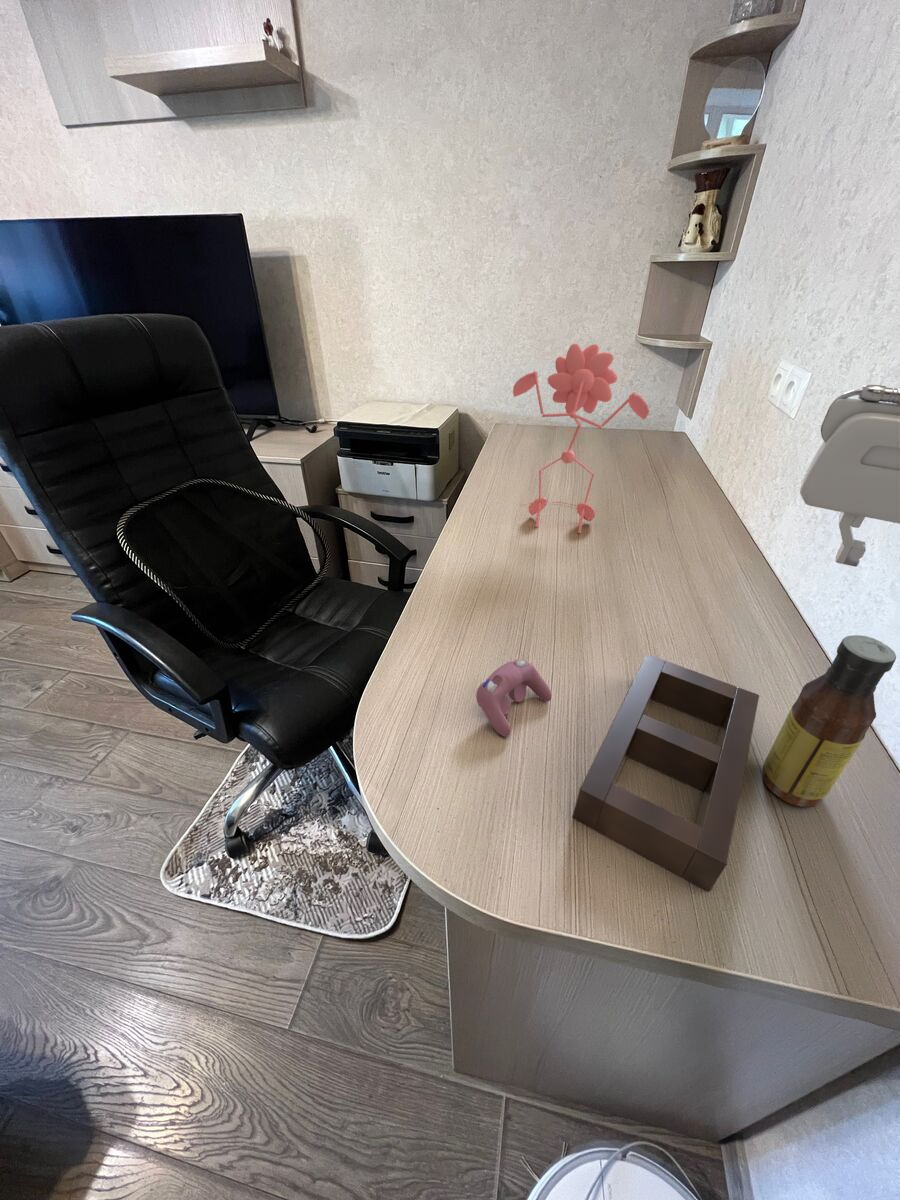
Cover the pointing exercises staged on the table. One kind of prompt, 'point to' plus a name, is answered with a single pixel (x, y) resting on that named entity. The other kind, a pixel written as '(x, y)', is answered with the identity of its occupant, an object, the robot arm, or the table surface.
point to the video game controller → (509, 691)
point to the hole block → (673, 771)
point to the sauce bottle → (827, 723)
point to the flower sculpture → (578, 403)
